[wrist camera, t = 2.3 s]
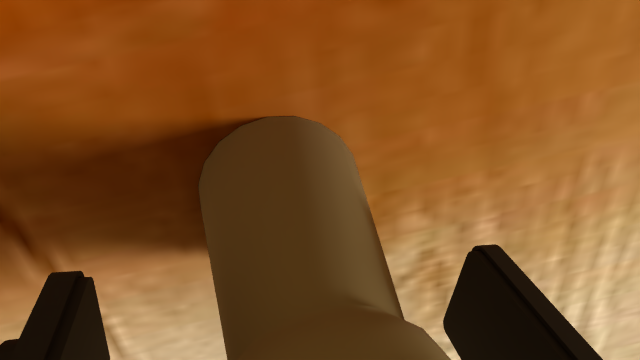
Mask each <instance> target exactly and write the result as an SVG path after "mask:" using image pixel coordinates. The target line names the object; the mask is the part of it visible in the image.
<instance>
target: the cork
mask: <svg viewBox="0 0 640 360" xmlns="http://www.w3.org/2000/svg"><path fill="white" fill-rule="evenodd" d="M198 188H199V197H200V206H201V212H202V218H203V223H204V229H205V235H206V240H207V246H208V252H209V257H210V263H211V269H212V274H213V280H214V286H215V292H216V297H217V303H218V309H219V314H220V320H221V326H222V331H223V337H224V343H225V348H226V354H227V360H451V359H450V358H449V357H448V356H447V355H446V353H445V352H444V351H443V350H442V349H441V348H440V347H439V346H438V345H437V343H436V342H435V341H434V340H433V339H432V338H431V337H430V336H429V335H428V334H427V333H426V332H425V331H424V330H423V328H420V327H418V326H416V325H414V324H412V323H409V322H407V321H405V320H404V317H403V313H402V310H401V307H400V304H399V301H398V298H397V294H396V291H395V288H394V285H393V282H392V278H391V275H390V272H389V269H388V266H387V262H386V259H385V256H384V253H383V250H382V246H381V243H380V240H379V237H378V234H377V230H376V227H375V224H374V221H373V218H372V214H371V211H370V208H369V205H368V202H367V198H366V195H365V192H364V189H363V186H362V183H361V179H360V176H359V173H358V170H357V167H356V163H355V160H354V157H353V154H352V153H351V152H350V150H349V149H348V147H347V146H346V145H345V143H344V142H343V140H342V139H341V138H340V136H338V135H337V134H335V133H334V132H332V131H331V130H329V129H328V128H326V127H325V126H324V125H322V124H321V123H318V122H314V121H311V120H307V119H304V118H300V117H296V116H281V117H266V118H263V119H260V120H257V121H254V122H251V123H248V124H245V125H242V126H240V127H239V128H237V129H236V130H235V131H233V132H232V133H230V134H229V135H228V136H226V137H225V138H224V139H222V140H221V141H220V142H219V143H218V144H217V145H216V147H215V148H214V150H213V151H212V152H211V154H210V155H209V157H208V158H207V159H206V161H205V162H204V165H203V169H202V173H201V177H200V180H199V184H198Z"/></svg>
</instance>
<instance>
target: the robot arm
mask: <svg viewBox="0 0 640 360" xmlns="http://www.w3.org/2000/svg"><path fill="white" fill-rule="evenodd" d="M443 325H444V330H445V332H446V334H447V336H448V337H449V339H450V341H451V343H452V344H453V346H454V348H455V349H456V351H457V353H458V355H459V356H460V358H461V360H603V359H602V358H601V357H600V356H599V355H598V354H597V353H596V352H595V350H594V349H593V348H592V347H591V346H590V345H589V344H588V343H587V342H586V341H585V339H584V338H583V337H582V336H581V335H580V334H579V333H578V332H577V331H576V330H575V328H574V327H573V326H572V325H571V324H570V323H569V322H568V321H567V320H566V319H565V317H564V316H563V315H562V314H561V313H560V312H559V311H558V310H557V309H556V308H555V307H554V305H553V304H552V303H551V302H550V301H549V300H548V299H547V298H546V297H545V296H544V294H543V293H542V292H541V291H540V290H539V289H538V288H537V287H536V286H535V285H534V283H533V282H532V281H531V280H530V279H529V278H528V277H527V276H526V275H525V274H524V272H523V271H522V270H521V269H520V268H519V267H518V266H517V265H516V264H515V263H514V261H513V260H512V259H511V258H510V257H509V256H508V255H507V254H506V253H505V252H504V250H503V249H502V248H501V247H499V246H498V245H480V246H475V247H474V248H473V249H472V251H471V252H469V253H468V254H467V257H466V259H465V262H464V265H463V267H462V270H461V273H460V276H459V278H458V281H457V284H456V287H455V289H454V292H453V295H452V297H451V300H450V303H449V306H448V308H447V311H446V314H445V316H444V320H443ZM0 360H110V355H109V350H108V346H107V341H106V336H105V332H104V327H103V322H102V318H101V313H100V308H99V304H98V299H97V294H96V290H95V285H94V281H93V278H92V277H84V274H83V272H82V271H71V272H56V273H51V274H50V275H49V276H48V278H47V280H46V282H45V284H44V287H43V289H42V291H41V293H40V295H39V297H38V299H37V301H36V304H35V306H34V308H33V310H32V312H31V314H30V316H29V319H28V321H27V323H26V325H25V327H24V329H23V331H22V333H21V336H20V338H19V339H13V340H7V341H4V342H3V343H2V344H1V345H0Z"/></svg>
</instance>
